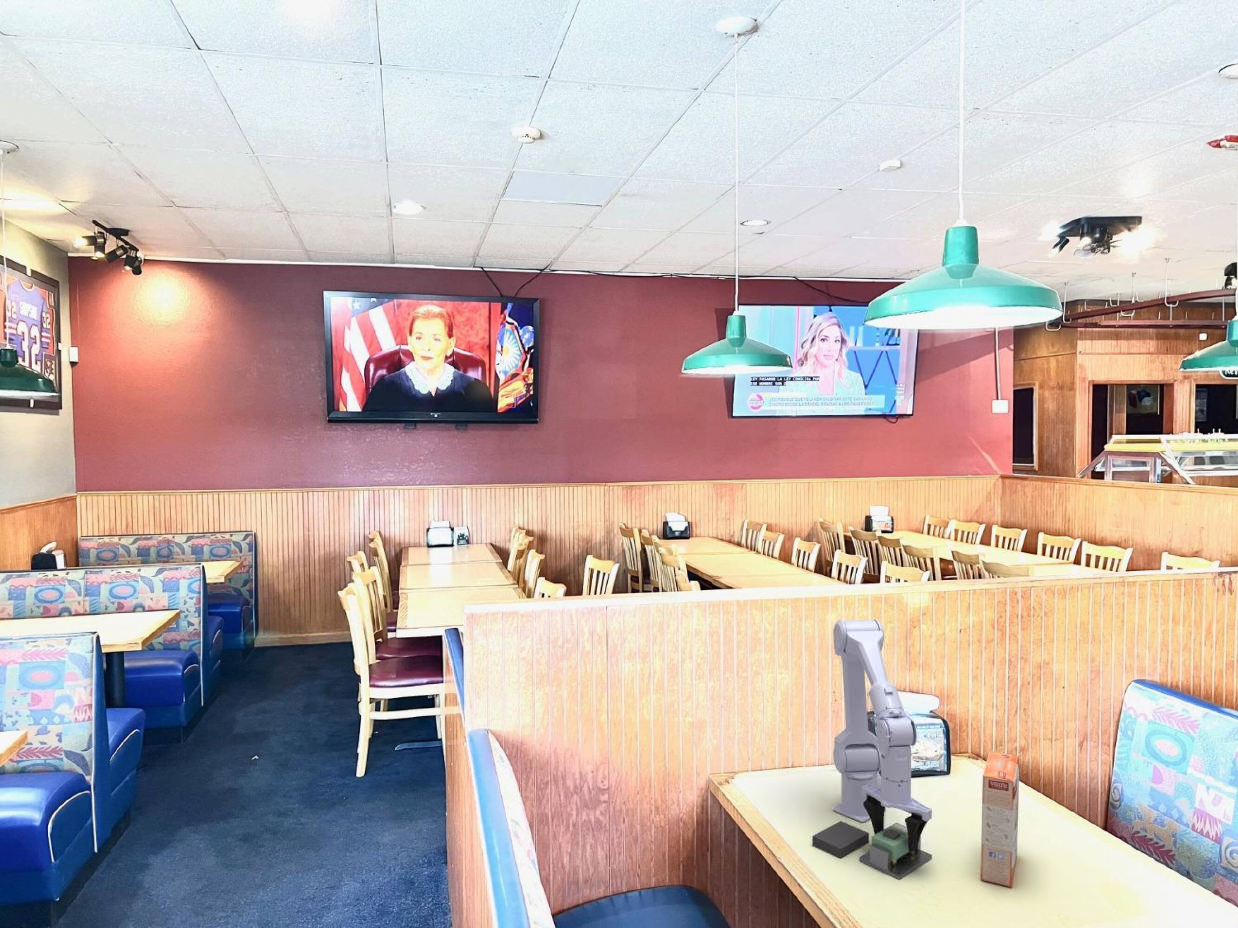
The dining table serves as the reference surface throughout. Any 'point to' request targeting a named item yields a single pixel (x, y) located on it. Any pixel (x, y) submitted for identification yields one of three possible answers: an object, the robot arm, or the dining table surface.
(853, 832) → the pad
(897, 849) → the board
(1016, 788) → the cracker box
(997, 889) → the dining table surface
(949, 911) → the dining table surface
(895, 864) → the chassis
